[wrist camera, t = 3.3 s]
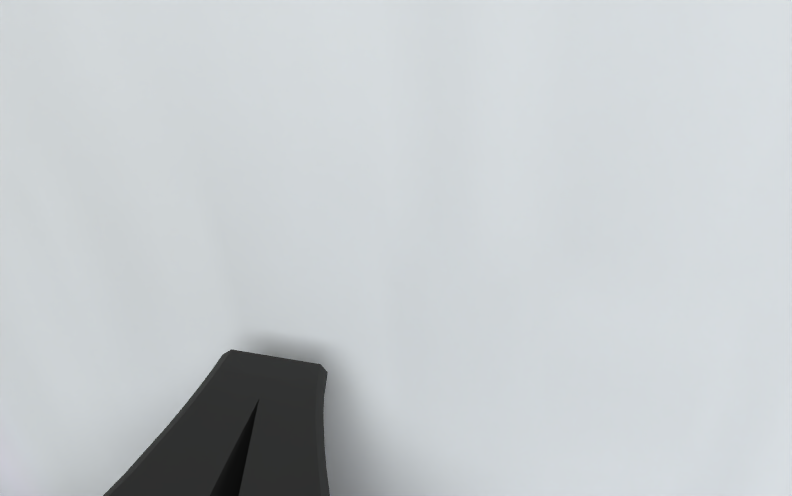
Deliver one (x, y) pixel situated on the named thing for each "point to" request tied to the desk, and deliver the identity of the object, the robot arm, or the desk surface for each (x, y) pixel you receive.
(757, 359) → the desk surface
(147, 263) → the desk surface
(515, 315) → the desk surface
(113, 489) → the robot arm
